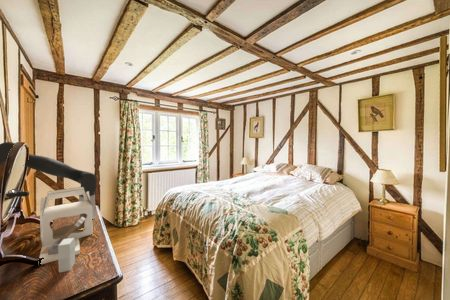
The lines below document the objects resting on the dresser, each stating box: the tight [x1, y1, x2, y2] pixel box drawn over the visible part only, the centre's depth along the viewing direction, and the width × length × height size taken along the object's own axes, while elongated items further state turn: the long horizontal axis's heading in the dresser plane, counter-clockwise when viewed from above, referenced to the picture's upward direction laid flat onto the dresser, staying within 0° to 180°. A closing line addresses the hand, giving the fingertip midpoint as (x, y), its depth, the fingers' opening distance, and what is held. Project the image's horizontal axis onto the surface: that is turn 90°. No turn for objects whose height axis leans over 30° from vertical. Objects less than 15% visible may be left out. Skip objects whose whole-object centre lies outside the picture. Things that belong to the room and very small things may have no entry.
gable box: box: [39, 186, 94, 247], centre depth 113 cm, size 22×13×28 cm, turn 137°
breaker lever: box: [57, 217, 85, 244], centre depth 100 cm, size 6×2×14 cm
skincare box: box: [57, 238, 76, 273], centre depth 87 cm, size 6×4×12 cm
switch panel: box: [38, 237, 81, 265], centre depth 99 cm, size 14×15×6 cm
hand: (28, 193), depth 95 cm, fingers closed
